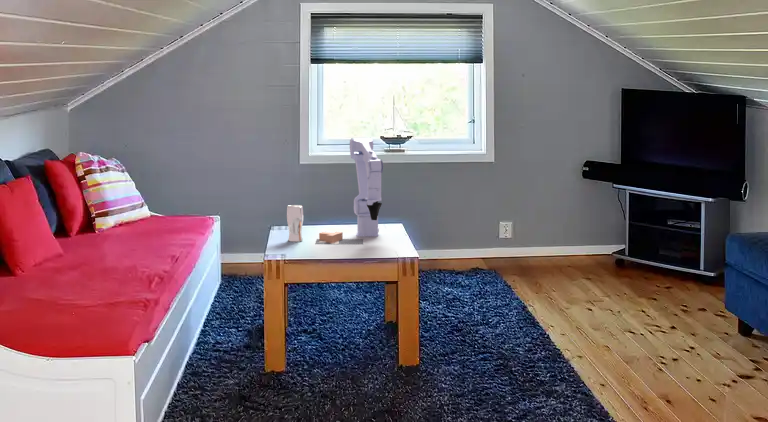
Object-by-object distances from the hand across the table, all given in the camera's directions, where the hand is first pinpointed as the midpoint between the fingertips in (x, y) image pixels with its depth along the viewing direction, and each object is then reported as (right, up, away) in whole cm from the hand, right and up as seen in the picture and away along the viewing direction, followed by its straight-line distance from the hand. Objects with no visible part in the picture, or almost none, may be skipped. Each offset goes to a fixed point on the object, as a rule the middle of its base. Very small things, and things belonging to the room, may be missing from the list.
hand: (374, 219), depth 316 cm
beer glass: (-34, -9, +2) cm, 35 cm away
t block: (-19, -9, +2) cm, 21 cm away
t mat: (-15, -10, -1) cm, 18 cm away
